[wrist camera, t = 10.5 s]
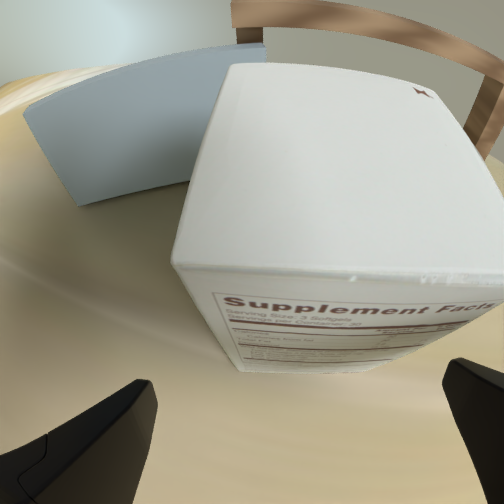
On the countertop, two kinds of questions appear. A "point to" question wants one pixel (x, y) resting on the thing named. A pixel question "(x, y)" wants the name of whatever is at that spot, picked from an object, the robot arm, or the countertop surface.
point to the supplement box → (336, 221)
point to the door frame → (390, 29)
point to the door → (134, 122)
